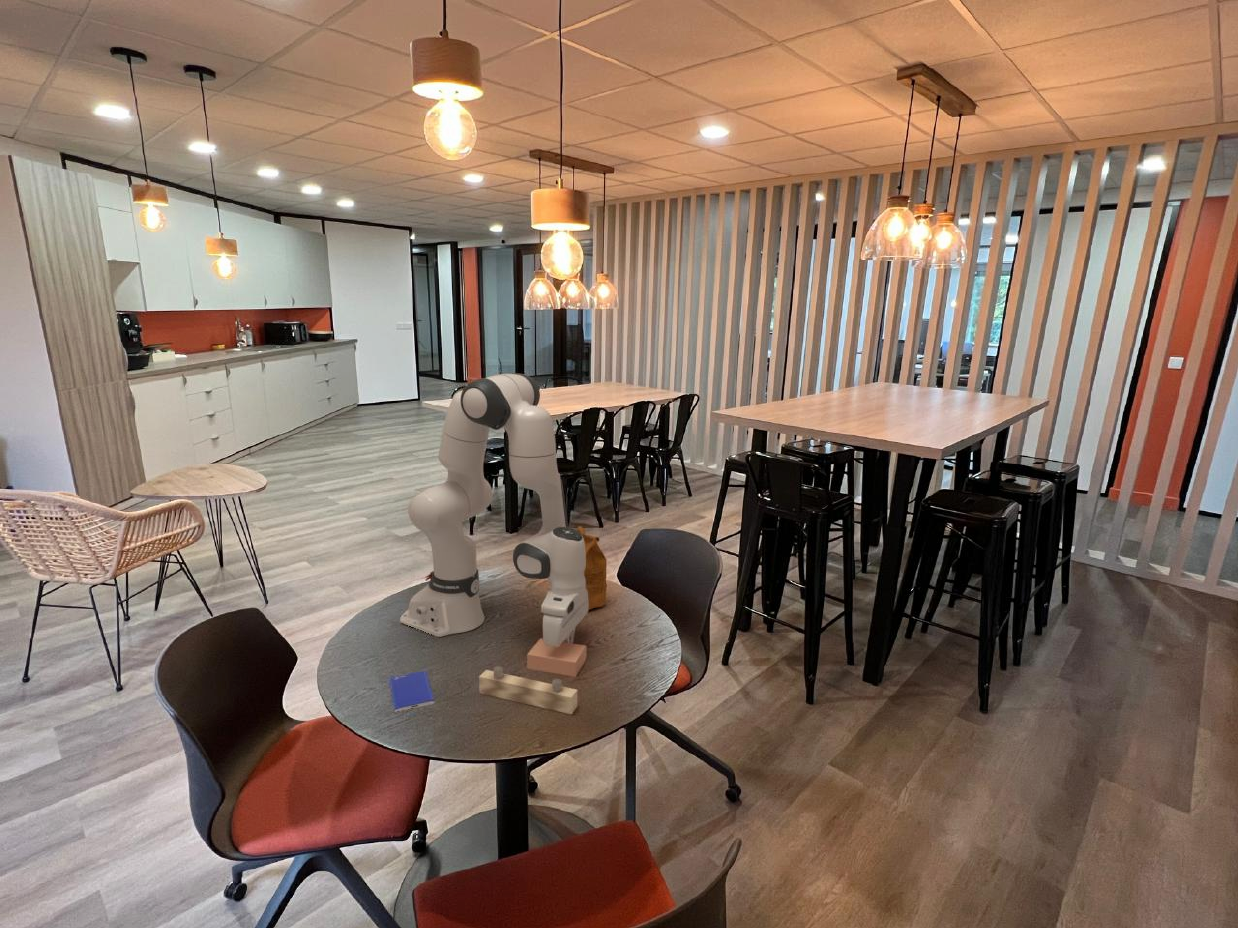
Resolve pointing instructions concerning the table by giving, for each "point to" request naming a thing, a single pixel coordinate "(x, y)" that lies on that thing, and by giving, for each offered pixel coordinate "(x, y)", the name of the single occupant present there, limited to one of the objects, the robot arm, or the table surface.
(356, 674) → the table surface
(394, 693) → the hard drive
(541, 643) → the terracotta block
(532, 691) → the stop bar
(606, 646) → the table surface
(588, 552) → the coffee package
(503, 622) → the table surface
